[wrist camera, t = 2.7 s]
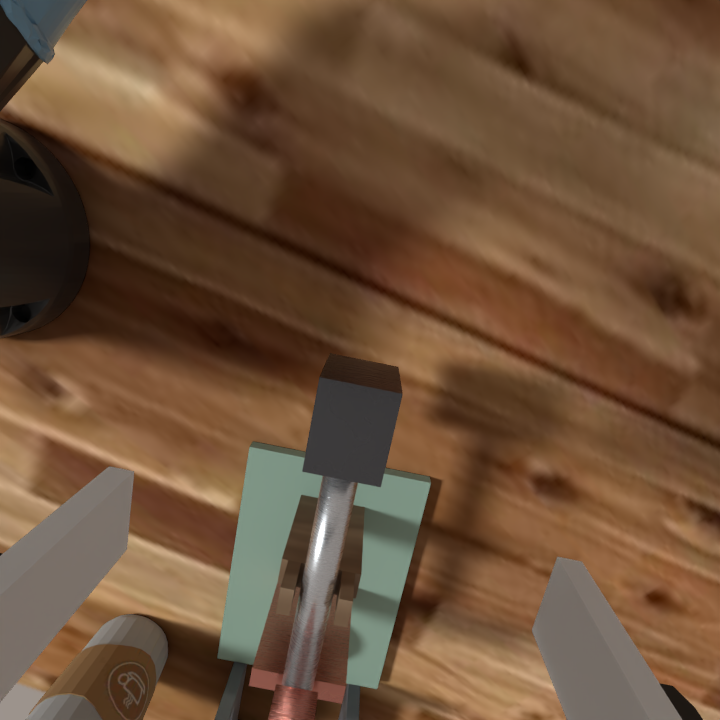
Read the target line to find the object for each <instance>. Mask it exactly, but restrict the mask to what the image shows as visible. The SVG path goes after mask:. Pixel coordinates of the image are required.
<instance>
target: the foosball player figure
mask: <svg viewBox="0 0 720 720" xmlns="http://www.w3.org/2000/svg"><path fill="white" fill-rule="evenodd" d="M317 502H318V498H316V497H311V496H306V495H301V497H300V501H299V504H298V507H297V511H296V514H295V517H294V520H293V524H292V527H291V530H290V534H289V537H288V540H287V544H286V547H285V550H284V553H283V557H282V561H281V566H280V572H279V577H278V583H279V584H281V587H280V593H279V598H278V604H277V609H276V614H281V615H286V616H289V615H290V611H291V607H292V603H293V598H294V594H295V590H296V587H299V588H301V583H302V578H303V573H304V568H305V563H306V558H307V553H308V548H309V543H310V538H311V532H312V527H313V522H314V517H315V512H316V507H317ZM364 513H365V507H361V506H356V505H353V508H352V512H351V517H350V522H349V526H348V531H347V535H346V540H345V544H344V549H343V554H342V558H341V563H340V567H339V572H338V576H337V581H336V586H335V590H334V594H335V595H337V599H336V608H335V616H334V625H337V626H342V627H347V626H348V621H349V617H350V613H351V608H352V604H353V598H355V599H356V595H357V591H358V587H359V583H360V578H361V572H362V553H363V533H364Z"/></svg>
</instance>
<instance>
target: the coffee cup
mask: <svg viewBox="0 0 720 720" xmlns="http://www.w3.org/2000/svg"><path fill="white" fill-rule="evenodd" d="M167 657H168V642H167V638H166V635H165V634H164V632H163V630H162V629H161V628H160V627H159V626H158V625H157V624H156V623H155V622H153V621H152V620H150V619H149V618H146V617H143V616H140V615H133V614H129V615H122V616H119V617H116V618H114V619H113V620H110V621H108V622H107V623H106V624H104V625H103V626H102V627H101V628H100V629H99V631H98V632H97V633H96V634H95V636H94V637H93V638H92V639H91V640H90V642H89V643H88V644H87V645H86V646H85V648H84V649H83V650H82V651H81V652H80V653H79V654H78V655H77V656H76V657H75V658H74V659H73V661H72V662H71V663H70V664H69V665H68V667H67V668H66V669H65V670H64V671H63V673H62V674H61V675H60V676H59V677H58V679H57V680H56V681H55V682H54V683H53V685H52V686H51V687H50V688H49V689H48V691H47V692H46V693H45V694H44V696H43V697H42V698H41V699H40V700H39V702H38V703H37V704H36V705H35V707H34V708H33V709H32V711H31V712H30V713H29V716H28V717H27V718H26V719H25V720H143V717H144V715H145V713H146V710H147V708H148V705H149V703H150V701H151V698H152V696H153V693H154V690H155V686H156V684H157V682H158V679H159V677H160V675H161V672H162V670H163V668H164V665H165V663H166V660H167Z"/></svg>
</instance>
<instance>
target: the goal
mask: <svg viewBox="0 0 720 720" xmlns="http://www.w3.org/2000/svg"><path fill="white" fill-rule="evenodd" d="M246 668H247V664H244V663H239V662H234V664H233V667H232V670H231V673H230V676H229V679H228V682H227V685H226V688H225V690H224V693H223V696H222V699H221V702H220V705H219V708H218V711H217V714H216V717H215V720H238V714H239V708H240V703H241V697H242V691H243V685H244V680H245V674H246ZM359 701H360V686H358V685H353V684H347V686H346V690H345V694H344V698H343V702H342V706H341V711H340V715H339V719H338V720H359Z"/></svg>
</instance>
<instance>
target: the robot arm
mask: <svg viewBox="0 0 720 720" xmlns="http://www.w3.org/2000/svg"><path fill="white" fill-rule="evenodd" d="M86 1H87V0H0V111H1V110H2V109H3V108H4V107H5V105H6V104H7V103H8V102H9V101H10V100H11V98H12V97H13V96H14V95H15V94H16V93H17V92H18V90H19V89H20V88H21V87H22V86H23V85H24V83H25V82H26V81H27V80H28V79H29V78H30V76H31V75H32V74H33V73H34V72H35V71H36V70H37V68H38V67H39V66H40V65H41V64H42V63H43V61H44V62H45V63H47V64H48V63H49V62H50V61H51V60H52V59H53V57H54V55H55V53H54V49H53V48H54V46H55V45H56V43H57V42H58V40H59V39H60V37H61V36H62V35H63V33H64V32H65V30H66V29H67V27H68V26H69V24H70V23H71V21H72V20H73V19H74V17H75V16H76V15H77V13H78V12H79V10H80V9H81V8H82V6H83V5H84V4H85V2H86ZM89 248H90V241H89V229H88V223H87V218H86V214H85V210H84V207H83V204H82V201H81V199H80V196H79V194H78V192H77V190H76V188H75V186H74V184H73V182H72V180H71V178H70V177H69V175H68V174H67V172H66V171H65V169H64V168H63V167H62V165H61V164H60V163H59V161H58V160H57V159H56V158H55V157H54V155H53V154H52V153H51V152H50V151H49V150H48V149H47V148H46V147H45V146H43V145H42V144H41V143H40V142H39V141H38V140H36V139H35V138H34V137H33V136H31V135H30V134H28V133H27V132H25V131H24V130H22V129H20V128H18V127H17V126H15V125H13V124H11V123H9V122H6V121H4V120H1V119H0V338H4V337H8V336H13V335H16V334H20V333H24V332H28V331H31V330H34V329H37V328H39V327H42V326H44V325H46V324H47V323H49V322H51V321H52V320H54V319H55V318H56V317H58V316H59V315H60V314H61V313H62V312H63V311H64V310H65V309H66V308H67V307H68V306H69V305H70V303H71V302H72V301H73V299H74V298H75V296H76V295H77V293H78V291H79V289H80V287H81V285H82V283H83V280H84V277H85V274H86V270H87V266H88V260H89ZM133 478H134V471H130V470H125V469H120V468H115V467H110V466H109V467H108V468H107V469H105V470H104V471H103V472H102V473H101V474H99V475H98V476H97V477H96V478H94V479H93V480H92V481H91V482H90V483H88V484H87V485H86V486H85V487H84V488H82V489H81V490H80V491H79V492H77V493H76V494H75V495H74V496H73V497H71V498H70V499H69V500H68V501H67V502H65V503H64V504H63V505H62V506H60V507H59V508H58V509H57V510H56V511H54V512H53V513H52V514H51V515H50V516H48V517H47V518H46V519H45V520H43V521H42V522H41V523H40V524H39V525H37V526H36V527H35V528H34V529H33V530H31V531H30V532H29V533H28V534H26V535H25V536H24V537H23V538H22V539H20V540H19V541H18V542H17V543H15V544H14V545H13V546H12V547H11V548H9V549H8V550H7V551H6V552H5V553H3V554H2V553H0V702H1V701H2V700H3V698H4V697H5V696H6V695H7V694H8V692H9V691H10V690H11V688H13V686H14V685H15V684H16V683H17V682H18V680H19V679H20V678H21V677H22V675H23V674H24V673H25V672H26V671H27V669H28V668H29V667H30V666H31V665H32V663H33V662H34V661H35V660H36V659H37V657H38V656H39V655H40V654H41V653H42V651H43V650H44V649H45V648H46V646H47V645H48V644H49V643H50V642H51V640H52V639H53V638H54V637H55V636H56V634H57V633H58V632H59V631H60V630H61V628H62V627H63V626H64V625H65V623H66V622H67V621H68V620H69V619H70V617H71V616H72V615H73V614H74V613H75V611H76V610H77V609H78V608H79V607H80V605H81V604H82V603H83V602H84V601H85V599H86V598H87V597H88V596H89V594H90V593H91V592H92V591H93V590H94V588H95V587H96V586H97V585H98V584H99V582H100V581H101V580H102V579H103V578H104V576H105V575H106V574H107V573H108V572H109V570H110V569H111V568H112V567H113V565H114V564H115V563H116V562H117V561H118V559H119V558H120V557H121V556H122V555H123V553H124V552H125V551H126V550H127V542H128V532H129V521H130V510H131V499H132V488H133ZM532 632H533V635H534V637H535V640H536V642H537V645H538V647H539V650H540V652H541V655H542V658H543V660H544V663H545V665H546V668H547V670H548V673H549V675H550V678H551V680H552V683H553V685H554V688H555V691H556V693H557V696H558V698H559V701H560V703H561V706H562V708H563V711H564V713H565V716H566V719H567V720H703V719H702V718H701V716H700V715H699V713H698V712H697V710H696V709H695V707H694V706H693V705H692V704H691V703H690V702H689V701H688V700H686V699H685V698H684V697H683V696H682V695H681V694H680V693H679V692H678V691H677V690H676V689H675V688H674V687H673V686H670V685H665V684H660V683H659V682H658V681H657V679H656V678H655V676H654V674H653V673H652V671H651V670H650V668H649V666H648V665H647V663H646V662H645V660H644V659H643V657H642V655H641V654H640V652H639V651H638V649H637V648H636V646H635V644H634V643H633V641H632V640H631V638H630V637H629V635H628V633H627V632H626V630H625V629H624V627H623V626H622V624H621V622H620V621H619V619H618V618H617V616H616V615H615V613H614V611H613V610H612V608H611V607H610V605H609V604H608V602H607V600H606V599H605V597H604V596H603V594H602V593H601V591H600V589H599V588H598V586H597V585H596V583H595V582H594V580H593V578H592V577H591V575H590V574H589V572H588V570H587V569H586V567H585V566H584V564H583V563H582V562H581V561H576V560H571V559H566V558H561V557H557V559H556V562H555V565H554V568H553V571H552V574H551V577H550V580H549V582H548V585H547V588H546V591H545V594H544V597H543V600H542V603H541V605H540V608H539V611H538V614H537V617H536V620H535V623H534V626H533V629H532Z"/></svg>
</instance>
